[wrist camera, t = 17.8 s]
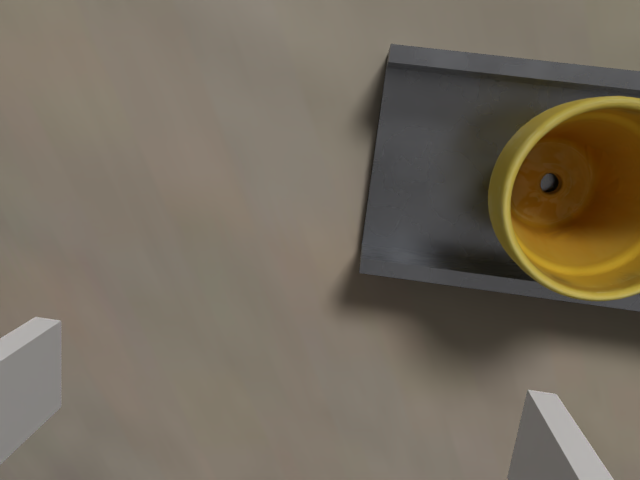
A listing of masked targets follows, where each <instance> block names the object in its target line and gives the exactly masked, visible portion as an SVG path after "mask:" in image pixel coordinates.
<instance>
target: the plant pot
mask: <svg viewBox="0 0 640 480" xmlns="http://www.w3.org/2000/svg"><path fill="white" fill-rule="evenodd" d="M549 173H551V174H554V175H555V176H556V177H557V178H558V181H559V184H558V187H557V188H556V189H555V190H554V191H552V192H545V191H543V190H542V188H541V180H542V179H543V177H544V176H545V175H546V174H549ZM488 209H489V215H490V220H491V223H492V227H493V229H494V232H495V234H496V236H497V238H498V240H499V242H500V244H501V245H502V247H503V248H504V250H505V251H506V252H507V254H508V255H509V256H510V257H511V259H512V260H513V261H514V262H515V263H516V264H517V265H518V266H519V267H520V268H521V269H522V270H523V271H524V272H525V273H526V274H528V275H529V276H530V277H531V278H533V279H534V280H535V281H537V282H538V283H539V284H541V285H542V286H544V287H546V288H547V289H549V290H551V291H553V292H556V293H558V294H561V295H564V296H567V297H570V298H574V299H579V300H586V301H611V300H618V299H623V298H627V297H630V296H633V295H636V294H639V293H640V98H634V97H626V96H604V97H594V98H586V99H580V100H576V101H571V102H568V103H564V104H561V105H558V106H555V107H553V108H550V109H548V110H546V111H544V112H542V113H541V114H539V115H537V116H536V117H534V118H533V119H531V120H530V121H529V122H527V123H526V124H525V125H524V126H522V127H521V128H520V129H519V130H518V131H517V132H516V133H515V134H514V135H513V136H512V138H511V139H510V140H509V141H508V143H507V144H506V145H505V147H504V148H503V150H502V152H501V153H500V155H499V157H498V159H497V161H496V163H495V166H494V168H493V172H492V175H491V179H490V184H489V189H488Z"/></svg>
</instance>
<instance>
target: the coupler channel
mask: <svg viewBox="0 0 640 480" xmlns="http://www.w3.org/2000/svg"><path fill="white" fill-rule="evenodd" d="M604 96H626V97H634V98H640V71H631V70H622V69H613V68H604V67H595V66H586V65H577V64H568V63H559V62H549V61H540V60H531V59H522V58H513V57H504V56H495V55H486V54H477V53H468V52H459V51H450V50H441V49H431V48H422V47H413V46H404V45H395V44H391V46H390V49H389V52H388V58H387V65H386V73H385V80H384V87H383V94H382V102H381V109H380V116H379V123H378V131H377V138H376V145H375V152H374V159H373V167H372V174H371V181H370V188H369V196H368V203H367V210H366V217H365V225H364V232H363V239H362V246H361V254H360V268H359V273H363V274H370V275H377V276H385V277H392V278H399V279H407V280H414V281H421V282H428V283H436V284H443V285H450V286H458V287H465V288H472V289H479V290H487V291H494V292H501V293H509V294H516V295H523V296H530V297H538V298H545V299H552V300H560V301H567V302H574V303H581V304H589V305H596V306H603V307H611V308H618V309H625V310H632V311H640V293H639V294H636V295H633V296H630V297H627V298H623V299H618V300H611V301H586V300H579V299H574V298H570V297H567V296H564V295H561V294H558V293H556V292H553V291H551V290H549V289H547V288H546V287H544V286H542V285H541V284H539V283H538V282H537V281H535V280H534V279H533V278H531V277H530V276H529V275H528V274H526V273H525V272H524V271H523V270H522V269H521V268H520V267H519V266H518V265H517V264H516V263H515V262H514V261H513V260H512V259H511V257H510V256H509V255H508V254H507V252H506V251H505V250H504V248H503V247H502V245H501V244H500V242H499V240H498V238H497V236H496V234H495V232H494V229H493V227H492V223H491V220H490V215H489V209H488V189H489V184H490V179H491V175H492V172H493V168H494V166H495V163H496V161H497V159H498V157H499V155H500V153H501V152H502V150H503V148H504V147H505V145H506V144H507V143H508V141H509V140H510V139H511V138H512V136H513V135H514V134H515V133H516V132H517V131H518V130H519V129H520V128H521V127H522V126H524V125H525V124H526V123H527V122H529V121H530V120H531V119H533V118H534V117H536V116H537V115H539V114H541V113H542V112H544V111H546V110H548V109H550V108H553V107H555V106H558V105H561V104H564V103H568V102H571V101H576V100H580V99H586V98H594V97H604ZM558 184H559V181H558V178H557V177H556V176H555V175H554V174H551V173H549V174H546V175H545V176H544V177H543V179H542V180H541V188H542V190H543V191H545V192H552V191H554V190H555V189H556V188H557V187H558Z"/></svg>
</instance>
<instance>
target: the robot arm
mask: <svg viewBox="0 0 640 480" xmlns="http://www.w3.org/2000/svg"><path fill="white" fill-rule="evenodd" d="M60 408H61V321H60V320H53V319H46V318H40V317H35V318H33V319H31V320H30V321H28V322H26V323H25V324H23V325H21V326H20V327H18V328H16V329H15V330H13V331H11V332H10V333H8V334H7V335H5V336H3V337H2V338H0V464H1V463H2V462H4V461H5V460H6V459H7V458H8V457H9V456H10V455H11V454H12V453H13V452H14V451H15V450H16V449H17V448H18V447H19V446H20V445H21V444H23V443H24V442H25V441H26V440H27V439H28V438H29V437H30V436H31V435H32V434H33V433H34V432H35V431H36V430H37V429H38V428H39V427H41V426H42V425H43V424H44V423H45V422H46V421H47V420H48V419H49V418H50V417H51V416H52V415H53V414H54V413H55V412H56V411H57V410H59V409H60ZM507 478H508V480H614V479H613V478H612V476H611V475H610V473H609V472H608V470H607V469H606V467H605V466H604V464H603V463H602V461H601V460H600V458H599V457H598V455H597V454H596V452H595V451H594V449H593V448H592V446H591V445H590V443H589V442H588V440H587V439H586V437H585V436H584V434H583V433H582V431H581V430H580V428H579V427H578V425H577V424H576V422H575V421H574V420H573V418H572V417H571V415H570V414H569V412H568V411H567V409H566V408H565V406H564V405H563V403H562V402H561V400H560V399H559V397H558V396H557V394H554V393H547V392H540V391H533V390H527V394H526V399H525V403H524V407H523V412H522V416H521V420H520V425H519V429H518V433H517V438H516V442H515V446H514V451H513V455H512V459H511V464H510V468H509V472H508V477H507Z"/></svg>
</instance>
